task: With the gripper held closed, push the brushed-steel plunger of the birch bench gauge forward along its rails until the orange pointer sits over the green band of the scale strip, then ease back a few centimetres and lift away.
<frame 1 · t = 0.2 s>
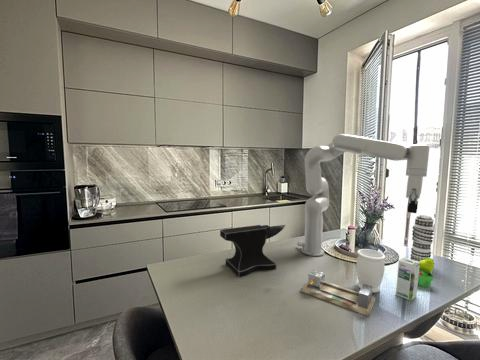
hand: (412, 210, 112), 31 cm above the table, fingers open, 9 cm apart
anvil: (255, 266, 123), on the table
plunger: (314, 281, 102), point 4 cm above the table, slide at 0.0 cm
syrup box: (405, 296, 100), on the table
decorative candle: (419, 263, 131), on the table
fruit basket: (420, 281, 112), on the table
gauge hardware: (338, 286, 98), point 4 cm above the table
gauge board: (336, 295, 99), on the table
jar: (368, 288, 106), on the table
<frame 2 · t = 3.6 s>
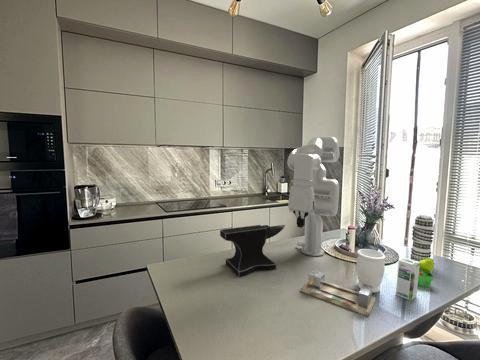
hand: (300, 226, 106), 25 cm above the table, fingers closed
nothing on the table moved.
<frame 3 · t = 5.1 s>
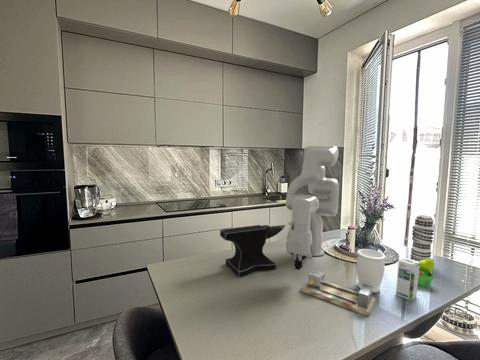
hand: (298, 268, 108), 6 cm above the table, fingers closed
nothing on the table moved.
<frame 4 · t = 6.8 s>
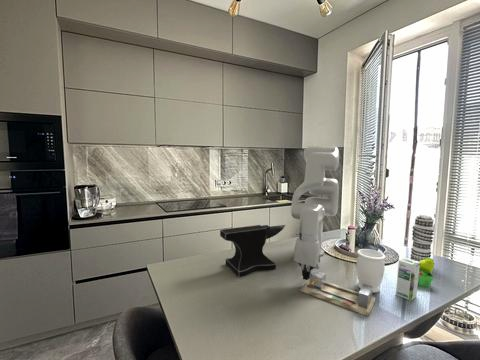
hand: (306, 278, 106), 3 cm above the table, fingers closed
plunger: (315, 281, 102), point 4 cm above the table, slide at 0.6 cm, touching gripper
everything else where it was.
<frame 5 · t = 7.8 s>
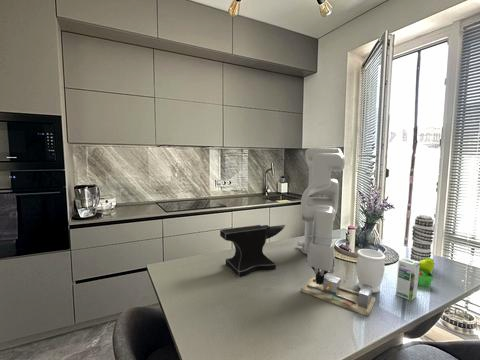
hand: (319, 283, 103), 3 cm above the table, fingers closed
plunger: (330, 286, 98), point 4 cm above the table, slide at 6.4 cm, touching gripper
everything else where it was.
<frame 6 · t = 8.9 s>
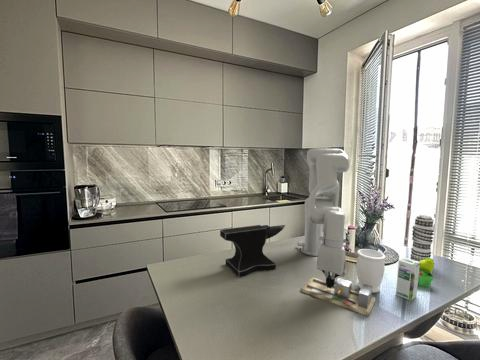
hand: (329, 286, 100), 3 cm above the table, fingers closed
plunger: (341, 290, 96), point 4 cm above the table, slide at 10.6 cm, touching gripper
everything else where it was.
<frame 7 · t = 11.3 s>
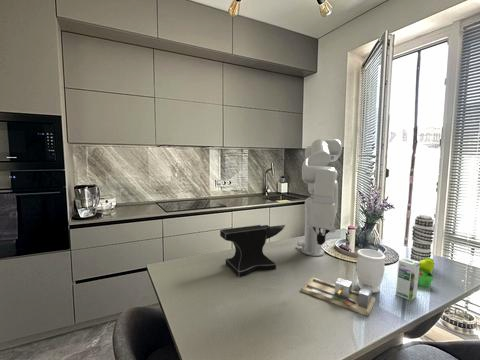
hand: (320, 243, 102), 19 cm above the table, fingers closed
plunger: (342, 290, 96), point 4 cm above the table, slide at 10.7 cm
everything else where it was.
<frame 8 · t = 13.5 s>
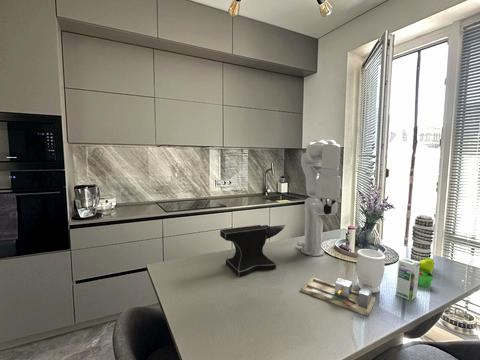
hand: (327, 213, 111), 29 cm above the table, fingers closed
nothing on the table moved.
at the end: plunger slide at 10.7 cm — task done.
